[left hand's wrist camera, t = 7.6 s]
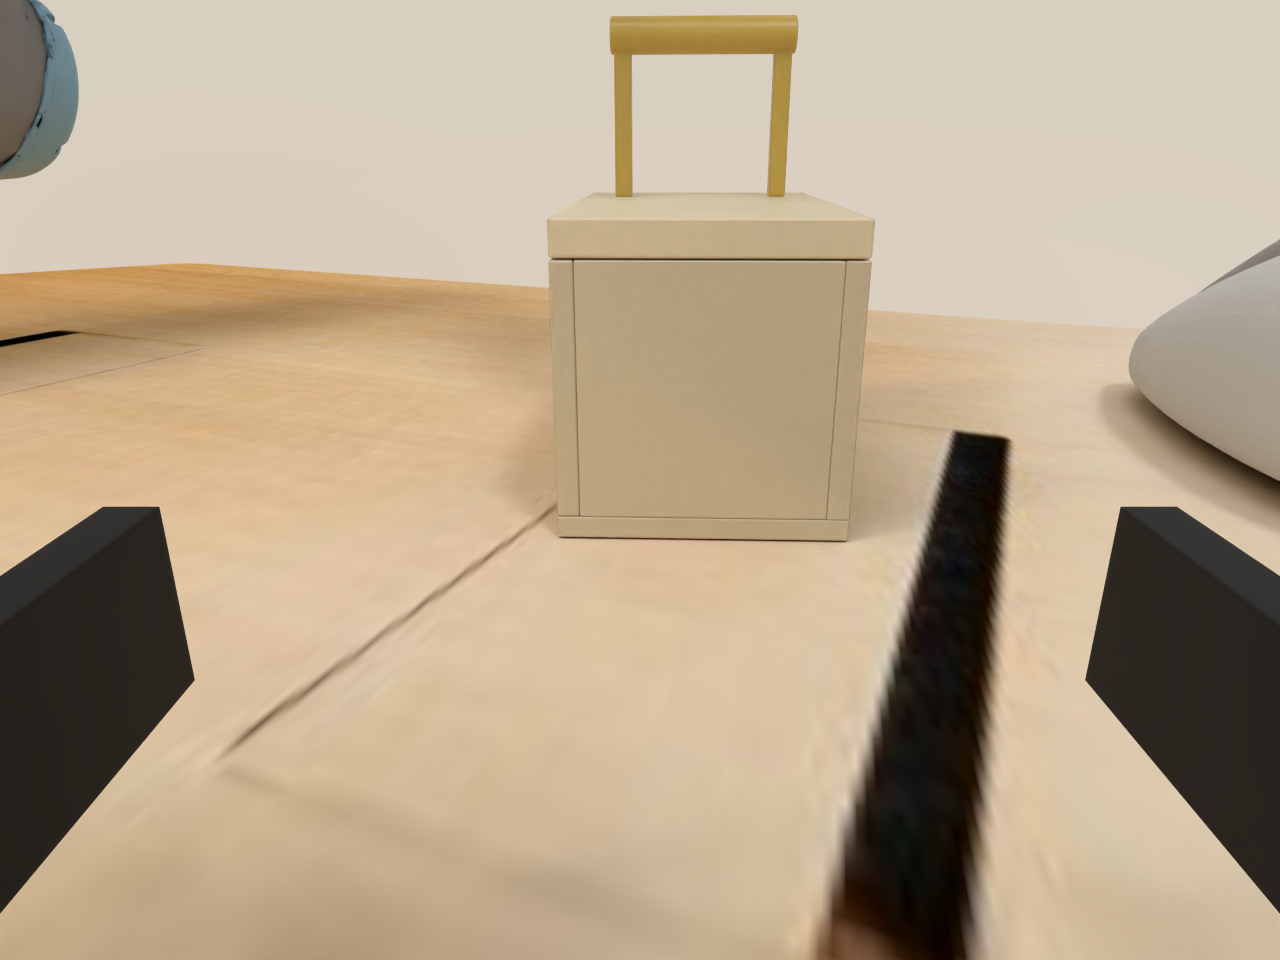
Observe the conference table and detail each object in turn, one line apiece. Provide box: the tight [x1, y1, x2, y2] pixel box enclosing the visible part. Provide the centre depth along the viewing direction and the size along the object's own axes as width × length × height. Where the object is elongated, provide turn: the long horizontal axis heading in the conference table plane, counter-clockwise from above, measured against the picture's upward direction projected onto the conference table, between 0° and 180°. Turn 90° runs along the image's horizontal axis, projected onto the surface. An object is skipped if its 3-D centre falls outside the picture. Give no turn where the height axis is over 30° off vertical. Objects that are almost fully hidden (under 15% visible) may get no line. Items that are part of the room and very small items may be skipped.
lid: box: [547, 15, 875, 259], centre depth 33 cm, size 16×10×8 cm, turn 178°
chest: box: [549, 258, 872, 541], centre depth 36 cm, size 15×10×9 cm, turn 178°
